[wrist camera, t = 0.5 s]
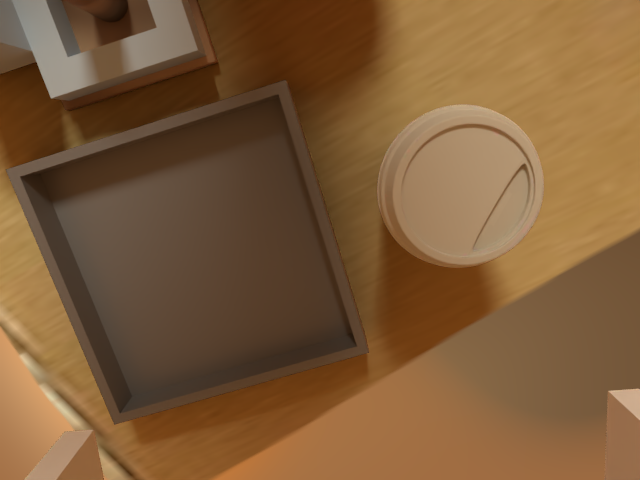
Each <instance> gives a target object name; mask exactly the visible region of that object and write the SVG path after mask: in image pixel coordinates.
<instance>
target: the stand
mask: <svg viewBox="0 0 640 480" xmlns="http://www.w3.org/2000/svg"><path fill="white" fill-rule="evenodd" d="M61 1H62V3H63V6H64V9H65V11H66V14H67V17H68V19H69V22H70V24H71V27H72V30H73V32H74V35H75V38H76V40H77V43H78V46H79V48H80V51H81V53H82V52H85V51H88V50H91V49H94V48H97V47H100V46H103V45H106V44H109V43H112V42H115V41H118V40H121V39H124V38H127V37H130V36H133V35H136V34H139V33H142V32H145V31H148V30H151V29H154V28H157V27H156V24H155V21H154V18H153V15H152V12H151V9H150V7H149V4H148V1H147V0H61ZM188 2H189V5H190V8H191V11H192V14H193V17H194V20H195V23H196V26H197V29H198V32H199V35H200V38H201V41H202V44H203V47H204V50H205V53H206V56H204V57H201V58H198V59H195V60H192V61H189V62H186V63H183V64H180V65H177V66H173V67H170V68H167V69H164V70H161V71H158V72H155V73H152V74H149V75H146V76H143V77H140V78H137V79H134V80H131V81H128V82H125V83H122V84H119V85H116V86H113V87H109V88H106V89H103V90H100V91H97V92H94V93H91V94H88V95H85V96H82V97H79V98H76V99H73V100H70V101H67V100H61V101H62V103H63V106H64V109H65V110H69V111H71V110H74V109H77V108H80V107H83V106H86V105H90V104H93V103H96V102H99V101H102V100H105V99H108V98H111V97H114V96H117V95H120V94H123V93H126V92H129V91H132V90H135V89H139V88H142V87H145V86H148V85H151V84H154V83H157V82H160V81H163V80H166V79H169V78H172V77H175V76H178V75H181V74H184V73H188V72H191V71H194V70H197V69H200V68H203V67H206V66H209V65H212V64H215V63H218V60H217V57H216V54H215V51H214V48H213V45H212V42H211V39H210V36H209V33H208V30H207V27H206V24H205V21H204V18H203V15H202V12H201V9H200V6H199V3H198V0H188Z"/></svg>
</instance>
